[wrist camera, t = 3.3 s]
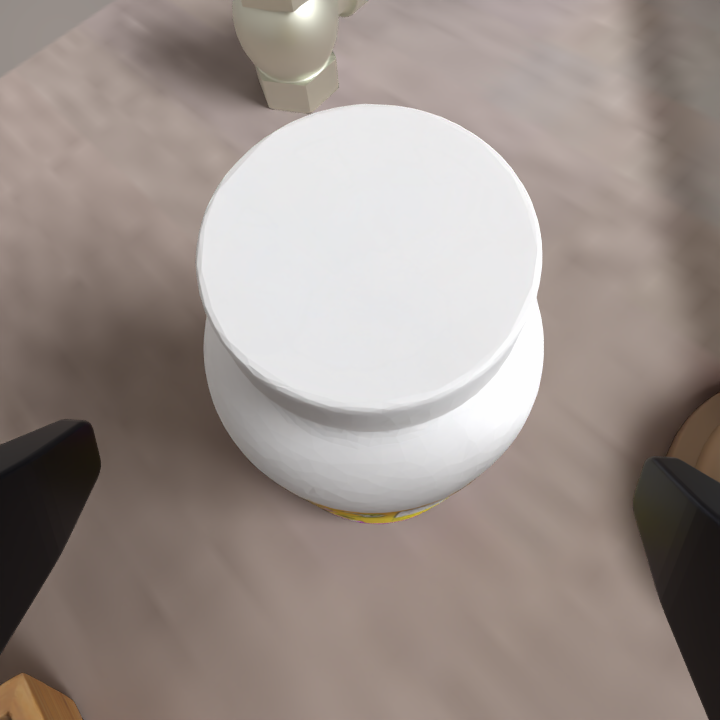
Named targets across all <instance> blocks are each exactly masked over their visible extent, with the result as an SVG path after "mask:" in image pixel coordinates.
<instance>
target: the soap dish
mask: <svg viewBox="0 0 720 720" xmlns="http://www.w3.org/2000/svg"><path fill="white" fill-rule="evenodd" d="M0 720H83V718H82V717H81V715H80V713H79V711H78V709H77V707H76V704H75V703H74V701H73V700H72V699H70V698H68V697H67V696H66V695H64V694H62V693H61V692H59V691H57V690H55V689H53V688H51V687H49V686H48V685H46V684H45V683H43V682H41V681H39V680H37V679H35V678H33V677H31V676H29V675H27V674H25V673H21V674H19V675H17V676H15V677H13V678H11V679H10V680H8V681H6V682H5V683H3V684H2V685H0Z"/></svg>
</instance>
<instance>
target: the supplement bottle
mask: <svg viewBox="0 0 720 720" xmlns="http://www.w3.org/2000/svg"><path fill="white" fill-rule="evenodd" d="M541 270H542V241H541V234H540V228H539V224H538V220H537V216H536V213H535V210H534V208H533V205H532V202H531V199H530V197H529V195H528V193H527V191H526V189H525V187H524V186H523V184H522V183H521V181H520V180H519V178H518V177H517V175H516V174H515V173H514V171H513V170H512V168H511V167H510V166H509V165H508V163H507V162H506V161H505V160H504V159H503V158H502V157H501V156H500V155H499V154H498V153H497V152H496V151H495V150H494V149H493V148H492V147H490V146H489V145H488V144H487V143H485V142H484V141H483V140H481V139H480V138H479V137H477V136H476V135H475V134H473V133H471V132H469V131H468V130H466V129H464V128H463V127H461V126H460V125H458V124H456V123H454V122H451V121H449V120H447V119H445V118H443V117H440V116H437V115H434V114H431V113H428V112H425V111H421V110H417V109H413V108H408V107H401V106H395V105H376V104H358V105H350V106H343V107H336V108H332V109H328V110H324V111H320V112H316V113H313V114H310V115H308V116H305V117H303V118H300V119H298V120H295V121H293V122H291V123H289V124H287V125H285V126H283V127H281V128H279V129H278V130H276V131H275V132H273V133H271V134H270V135H268V136H267V137H265V138H263V139H262V140H261V141H260V142H258V143H257V144H256V145H255V146H253V147H252V148H251V149H250V150H249V151H248V152H247V153H246V154H245V155H244V156H243V157H242V158H241V159H240V160H239V161H238V162H237V163H236V164H235V165H234V166H233V167H232V168H231V169H230V171H229V172H228V173H227V174H226V175H225V177H224V178H223V180H222V181H221V183H220V184H219V185H218V187H217V188H216V190H215V192H214V194H213V196H212V198H211V200H210V202H209V204H208V206H207V208H206V210H205V213H204V217H203V220H202V223H201V227H200V231H199V235H198V242H197V249H196V274H197V282H198V288H199V294H200V297H201V300H202V304H203V307H204V310H205V313H206V315H207V318H206V324H205V333H204V365H205V372H206V377H207V382H208V386H209V391H210V394H211V397H212V400H213V403H214V406H215V408H216V411H217V413H218V415H219V417H220V419H221V421H222V423H223V425H224V427H225V429H226V430H227V432H228V433H229V435H230V436H231V438H232V440H233V441H234V442H235V444H236V445H237V446H238V447H239V449H240V450H241V451H242V452H243V454H244V455H245V456H246V457H247V458H248V459H249V460H250V461H251V462H252V463H253V464H254V465H255V466H256V467H257V468H258V469H259V470H260V471H261V472H263V473H264V474H265V475H266V476H268V477H269V478H270V479H272V480H273V481H275V482H276V483H277V484H279V485H280V486H282V487H283V488H285V489H287V490H288V491H290V492H292V493H294V494H296V495H297V496H299V497H301V498H303V499H306V500H307V501H309V502H311V503H313V504H315V505H316V506H318V507H320V508H322V509H324V510H326V511H328V512H330V513H332V514H334V515H336V516H339V517H341V518H344V519H347V520H351V521H355V522H360V523H367V524H385V523H393V522H399V521H403V520H407V519H410V518H412V517H415V516H417V515H419V514H421V513H423V512H425V511H427V510H429V509H430V508H432V507H434V506H436V505H437V504H439V503H441V502H442V501H444V500H445V499H447V498H448V497H450V496H451V495H452V494H454V493H456V492H457V491H459V490H461V489H462V488H464V487H465V486H467V485H468V484H470V483H471V482H472V481H473V480H475V479H476V478H477V477H478V476H479V475H481V474H482V473H483V472H484V471H485V470H487V469H488V468H489V467H490V466H491V465H492V464H493V463H494V462H495V461H496V460H497V459H498V458H499V457H500V456H501V455H502V454H503V453H504V452H505V451H506V450H507V449H508V447H509V446H510V445H511V444H512V442H513V441H514V440H515V438H516V437H517V435H518V434H519V432H520V430H521V429H522V427H523V425H524V423H525V421H526V419H527V417H528V415H529V413H530V411H531V408H532V406H533V403H534V401H535V398H536V396H537V393H538V389H539V384H540V380H541V375H542V367H543V358H544V336H543V328H542V319H541V315H540V311H539V307H538V303H537V299H536V296H537V292H538V288H539V283H540V276H541Z"/></svg>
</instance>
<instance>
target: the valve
mask: <svg viewBox="0 0 720 720" xmlns="http://www.w3.org/2000/svg"><path fill="white" fill-rule="evenodd" d="M367 1H368V0H233V2H232V13H233V22H234V27H235V31H236V34H237V37H238V39H239V42H240V44H241V46H242V48H243V50H244V51H245V53H246V54H247V56H248V57H249V58H250V60H251V61H252V62H253V63H254V65H255V68H256V72H257V76H258V79H259V82H260V85H261V87H262V90H263V93H264V96H265V98H266V101H267V104H268V106H269V108H271V109H274V110H282V111H290V112H298V113H312V112H313V111H315V110H316V109H317V108H318V107H319V106H320V105H321V104H322V103H323V102H324V101H325V100H327V99H328V98H329V97H330V96H331V95H332V94H333V93H334V92H335V91H336V90H337V89H338V87H339V83H338V73H337V62H336V57H335V55H334V53H333V48H334V45H335V42H336V38H337V33H338V24H339V17H338V16H341V17H349V16H351V15H353V14H354V13H355V12H356V11H357V10H358V9H359V8H361V7H362V6H363V5H364V4H365V3H366V2H367Z"/></svg>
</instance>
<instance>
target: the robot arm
mask: <svg viewBox="0 0 720 720" xmlns="http://www.w3.org/2000/svg"><path fill="white" fill-rule="evenodd" d="M100 468H101V460H100V455H99V451H98V447H97V443H96V439H95V435H94V431H93V428H92V425H91V424H90V423H89V422H87V421H85V420H71V419H63V420H60V421H57V422H55V423H52V424H50V425H47V426H45V427H43V428H40V429H38V430H35V431H33V432H30V433H28V434H26V435H23V436H21V437H18V438H16V439H14V440H11V441H9V442H6V443H4V444H1V445H0V655H1V653H2V651H3V650H4V648H5V646H6V645H7V643H8V641H9V640H10V638H11V637H12V635H13V633H14V632H15V630H16V628H17V627H18V625H19V623H20V622H21V620H22V618H23V617H24V615H25V613H26V612H27V610H28V609H29V607H30V605H31V604H32V602H33V600H34V599H35V597H36V595H37V594H38V592H39V590H40V589H41V587H42V585H43V584H44V582H45V581H46V579H47V577H48V576H49V574H50V572H51V571H52V569H53V567H54V566H55V564H56V562H57V560H58V559H59V557H60V555H61V553H62V551H63V549H64V547H65V545H66V543H67V541H68V539H69V537H70V535H71V533H72V531H73V529H74V527H75V525H76V522H77V520H78V518H79V516H80V514H81V512H82V510H83V508H84V506H85V503H86V501H87V499H88V497H89V495H90V493H91V491H92V489H93V487H94V484H95V482H96V480H97V478H98V476H99V473H100ZM633 511H634V515H635V518H636V522H637V525H638V529H639V532H640V535H641V539H642V542H643V546H644V549H645V553H646V556H647V559H648V563H649V566H650V570H651V573H652V577H653V580H654V584H655V587H656V590H657V593H658V596H659V599H660V602H661V605H662V608H663V610H664V613H665V615H666V618H667V620H668V623H669V625H670V627H671V630H672V632H673V635H674V637H675V640H676V642H677V644H678V647H679V649H680V652H681V654H682V656H683V659H684V661H685V664H686V666H687V668H688V671H689V673H690V676H691V678H692V681H693V683H694V685H695V688H696V690H697V693H698V695H699V697H700V700H701V702H702V705H703V707H704V709H705V712H706V714H707V717H708V719H709V720H720V483H719V482H718V481H716V480H714V479H713V478H711V477H709V476H708V475H706V474H704V473H702V472H701V471H699V470H697V469H696V468H694V467H692V466H691V465H689V464H687V463H686V462H684V461H682V460H681V459H678V458H675V457H660V456H651V457H649V458H648V459H647V460H646V461H645V463H644V466H643V469H642V472H641V475H640V478H639V481H638V484H637V487H636V491H635V494H634V498H633Z"/></svg>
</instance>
